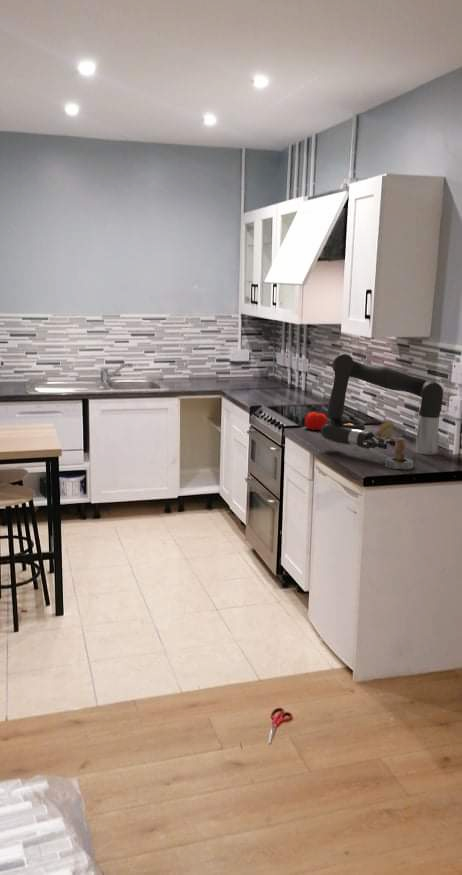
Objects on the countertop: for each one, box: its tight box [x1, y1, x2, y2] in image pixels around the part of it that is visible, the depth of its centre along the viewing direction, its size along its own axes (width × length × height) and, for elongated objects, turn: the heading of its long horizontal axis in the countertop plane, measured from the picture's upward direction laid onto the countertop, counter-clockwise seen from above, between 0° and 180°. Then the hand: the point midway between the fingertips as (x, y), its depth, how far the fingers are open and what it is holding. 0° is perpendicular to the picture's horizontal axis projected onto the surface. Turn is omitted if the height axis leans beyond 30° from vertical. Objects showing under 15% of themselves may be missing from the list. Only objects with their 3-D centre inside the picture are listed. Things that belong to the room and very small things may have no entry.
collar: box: [384, 456, 414, 471], centre depth 317 cm, size 11×11×3 cm
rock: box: [374, 420, 394, 439], centre depth 372 cm, size 11×9×10 cm
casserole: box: [342, 419, 366, 431], centre depth 370 cm, size 25×19×8 cm
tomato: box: [304, 411, 328, 431], centre depth 391 cm, size 11×12×9 cm
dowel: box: [393, 437, 407, 461], centre depth 316 cm, size 4×4×12 cm
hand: (392, 445), depth 318 cm, fingers open, 8 cm apart
